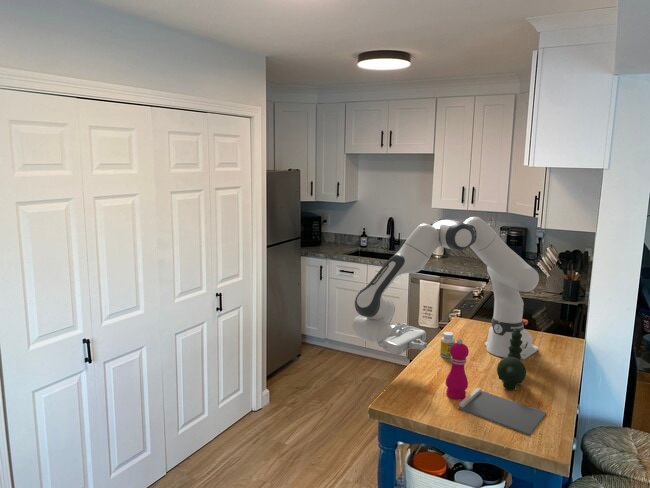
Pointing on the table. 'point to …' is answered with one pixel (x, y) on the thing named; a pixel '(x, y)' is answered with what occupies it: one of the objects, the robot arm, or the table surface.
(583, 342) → the table surface
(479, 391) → the grey stop strip
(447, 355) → the supplement bottle
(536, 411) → the grey rectangular board
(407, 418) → the table surface
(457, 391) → the magenta bowling pin
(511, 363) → the toy figurine
